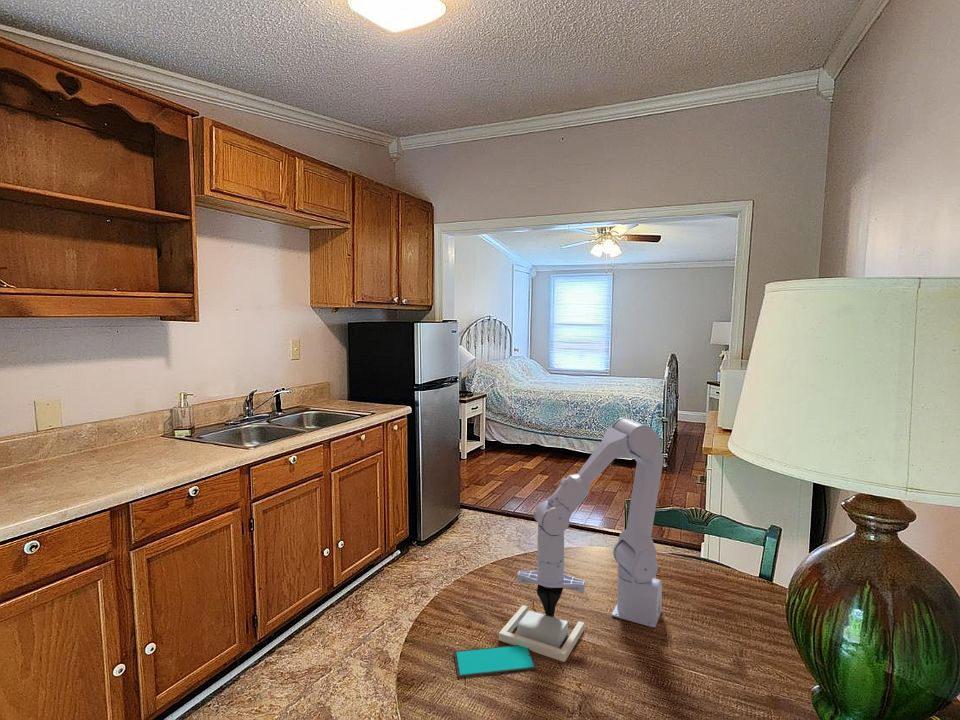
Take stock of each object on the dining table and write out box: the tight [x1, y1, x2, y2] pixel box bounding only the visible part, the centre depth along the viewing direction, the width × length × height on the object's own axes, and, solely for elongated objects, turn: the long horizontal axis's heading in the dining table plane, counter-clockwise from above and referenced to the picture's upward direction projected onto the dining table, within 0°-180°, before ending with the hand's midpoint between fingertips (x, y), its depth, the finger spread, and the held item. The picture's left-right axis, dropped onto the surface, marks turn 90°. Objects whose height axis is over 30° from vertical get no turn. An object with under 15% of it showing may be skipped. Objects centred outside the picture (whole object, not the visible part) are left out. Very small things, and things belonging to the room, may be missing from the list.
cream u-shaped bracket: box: [498, 604, 585, 663], centre depth 112 cm, size 14×12×2 cm
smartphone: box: [453, 645, 536, 679], centre depth 103 cm, size 7×1×15 cm
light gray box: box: [516, 610, 569, 649], centre depth 112 cm, size 9×6×3 cm, turn 62°
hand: (550, 617), depth 116 cm, fingers closed
